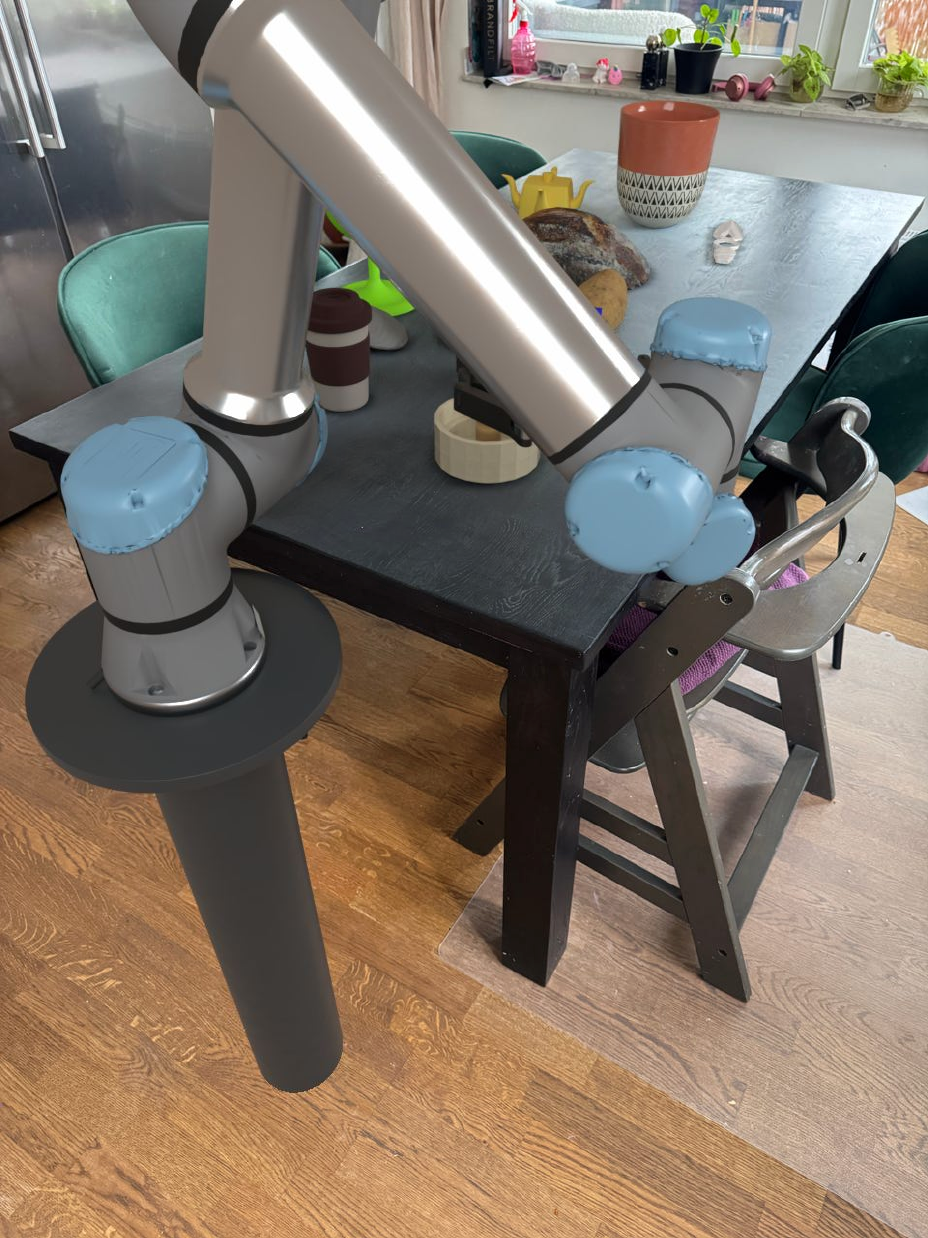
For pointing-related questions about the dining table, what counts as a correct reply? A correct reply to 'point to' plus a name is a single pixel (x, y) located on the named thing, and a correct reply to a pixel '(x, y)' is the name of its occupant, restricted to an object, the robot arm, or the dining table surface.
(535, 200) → the teapot
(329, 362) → the coffee cup
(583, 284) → the potato
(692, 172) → the planter
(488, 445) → the bowl
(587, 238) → the bread
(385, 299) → the wineglass
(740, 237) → the white lumpy piece
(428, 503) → the dining table surface
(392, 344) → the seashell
